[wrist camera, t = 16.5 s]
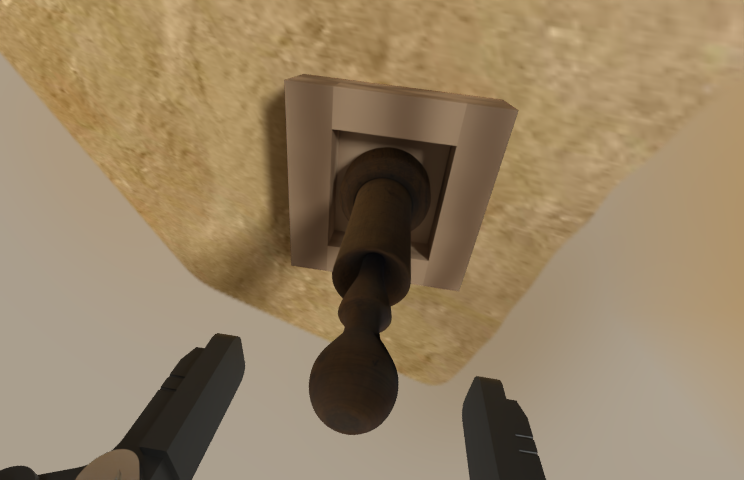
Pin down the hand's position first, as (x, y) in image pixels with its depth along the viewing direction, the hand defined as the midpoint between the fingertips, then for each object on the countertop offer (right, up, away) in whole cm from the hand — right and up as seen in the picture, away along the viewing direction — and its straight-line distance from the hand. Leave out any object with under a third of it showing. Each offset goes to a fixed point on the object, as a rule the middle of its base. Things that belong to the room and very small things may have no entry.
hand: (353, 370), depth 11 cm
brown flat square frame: (+2, +10, +16) cm, 18 cm away
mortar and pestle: (+2, +9, +14) cm, 17 cm away
